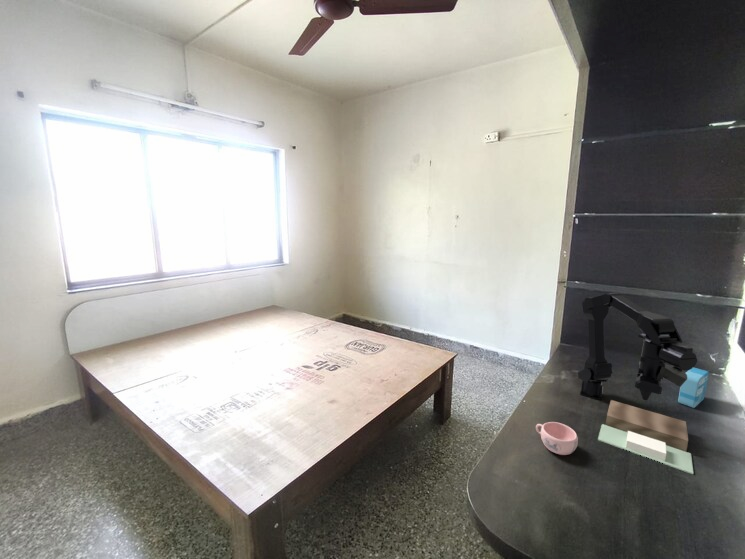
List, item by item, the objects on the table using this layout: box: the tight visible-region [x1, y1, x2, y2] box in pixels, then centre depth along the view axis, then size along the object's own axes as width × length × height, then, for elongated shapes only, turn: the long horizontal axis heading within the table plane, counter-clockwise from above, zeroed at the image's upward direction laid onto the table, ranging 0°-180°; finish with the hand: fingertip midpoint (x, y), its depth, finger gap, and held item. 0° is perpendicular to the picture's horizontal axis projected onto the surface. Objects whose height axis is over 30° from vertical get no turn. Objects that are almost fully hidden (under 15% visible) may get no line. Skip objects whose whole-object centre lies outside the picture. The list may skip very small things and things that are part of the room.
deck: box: [605, 399, 689, 452], centre depth 109 cm, size 20×12×4 cm, turn 49°
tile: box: [626, 431, 666, 461], centre depth 99 cm, size 9×6×2 cm, turn 50°
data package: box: [677, 366, 710, 409], centre depth 123 cm, size 12×4×12 cm, turn 122°
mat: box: [597, 423, 694, 475], centre depth 101 cm, size 22×10×1 cm, turn 49°
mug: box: [535, 421, 579, 456], centre depth 101 cm, size 12×10×6 cm
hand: (645, 399), depth 107 cm, fingers closed
